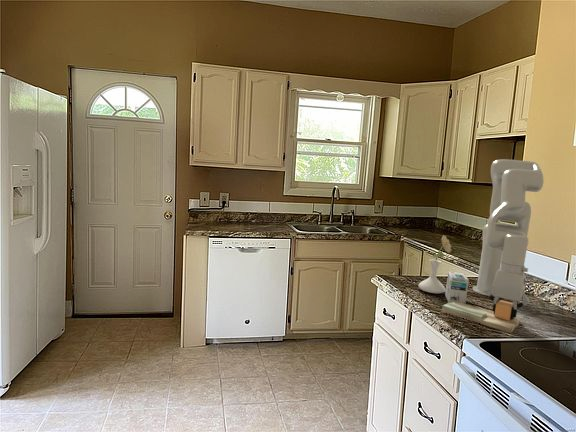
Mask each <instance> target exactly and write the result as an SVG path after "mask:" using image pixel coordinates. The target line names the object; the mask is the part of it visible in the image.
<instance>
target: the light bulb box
mask: <svg viewBox="0 0 576 432" xmlns="http://www.w3.org/2000/svg"><path fill="white" fill-rule="evenodd" d="M446 278H447V279H446V286H445V289H446V291H445V292H444V293H445V294H444V296H445V298H446V300H447V303H448V302H449V303H452V302H454V301H457V302H461V303H464V304H467V303H466V302H467V295H468V288H469V282H470V280H469V278H468V277H467V276H466V274H465V273H462V272H457V271H456V272H455V271H450V270H449V271H447V277H446Z"/></svg>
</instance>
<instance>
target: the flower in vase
mask: <svg viewBox="0 0 576 432" xmlns="http://www.w3.org/2000/svg"><path fill="white" fill-rule="evenodd" d="M441 244H442V246H441V247H440V249H439V250H438V253H437V254H436V253H434V254H433V255H432V257H434V258H436V259H432V258H431V259H429V262H430V266H431V272H430V276H429V277H428V278H426V279H424V280H422V281H421V282H419V284H418V288H419V289H420V290H422V291H423V292H427V293H428V294H429V293H430V294H443V293H446V286H444V284H443V283H442V282H441V281H440V280H439V278H437V274H438V273H437V272H438V268H439V266H440V265H441V263H442V261H441V260H439V259H438V258H439V257H440V258H444V256H445V254H444V253H443V252H442V251H441V250H442V249H444V250H445V252H447V253H448V254H449V253H451V252H452V245H451V243H450V239H448V238H447V236H446V235H444V234H443V235H442V237H441Z"/></svg>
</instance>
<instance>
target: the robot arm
mask: <svg viewBox="0 0 576 432" xmlns="http://www.w3.org/2000/svg"><path fill="white" fill-rule="evenodd" d="M490 178H491V181H492V183H491V184H492V192H491V193H492V194H491V199H490V206H489V216H488V219H487V223H486V224H485V225H484V226H483V228H482V248H481V256H480V262H479V269H478V275H477V282H476V285H474V286H472V290H473V292H474V293H477V294H479V295H484V296H488V297H489V299H490V300H491V302H492V304H493V306H492V311H493V312H494V315H495V308H496V303H497V302H499V301H500V300H501V299H504V300H509V301H512V303H513V308H512V311H511V317H510V319H511V320H513V319H514V317H515V318H517V314H518V309H519V308H521V307H523V306H526V305H528V304H530V300H529V298H528V297H527V295H526V294H525V291H526V274H525V272H526V273H528V271H529V268H528V267H525V262H526V254H527V250H528V245H529V237H528V235H529V234H528V233H529V228H530V222H531V216H532V207H531V204H530V203H529V201H526V192H532V193H538V192H540V191H541V190H542V188H543V186H544V173H543V171H542V169H541V168H540V166H539V164H538V163H537V162H536V161H531V160H529V161H528V160H517V159H507V158H504V159H503V158H502V159H496V160H494V161H492V164H491V166H490ZM497 221H501V222H502V221H503V222H511V223H516V224H509V223H508V224H507V223H501V222H500V223H499V222H497ZM500 298H501V299H500ZM522 300H523V301H522Z"/></svg>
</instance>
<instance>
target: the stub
mask: <svg viewBox="0 0 576 432" xmlns="http://www.w3.org/2000/svg"><path fill="white" fill-rule="evenodd" d="M512 308H513V302H510V301H506V300H502V299H499V301H498V302H497V303H496V308H495V315H494V317H498V318H501V319H505V320H508V321H509V320H510V317H511V311H512Z"/></svg>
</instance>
